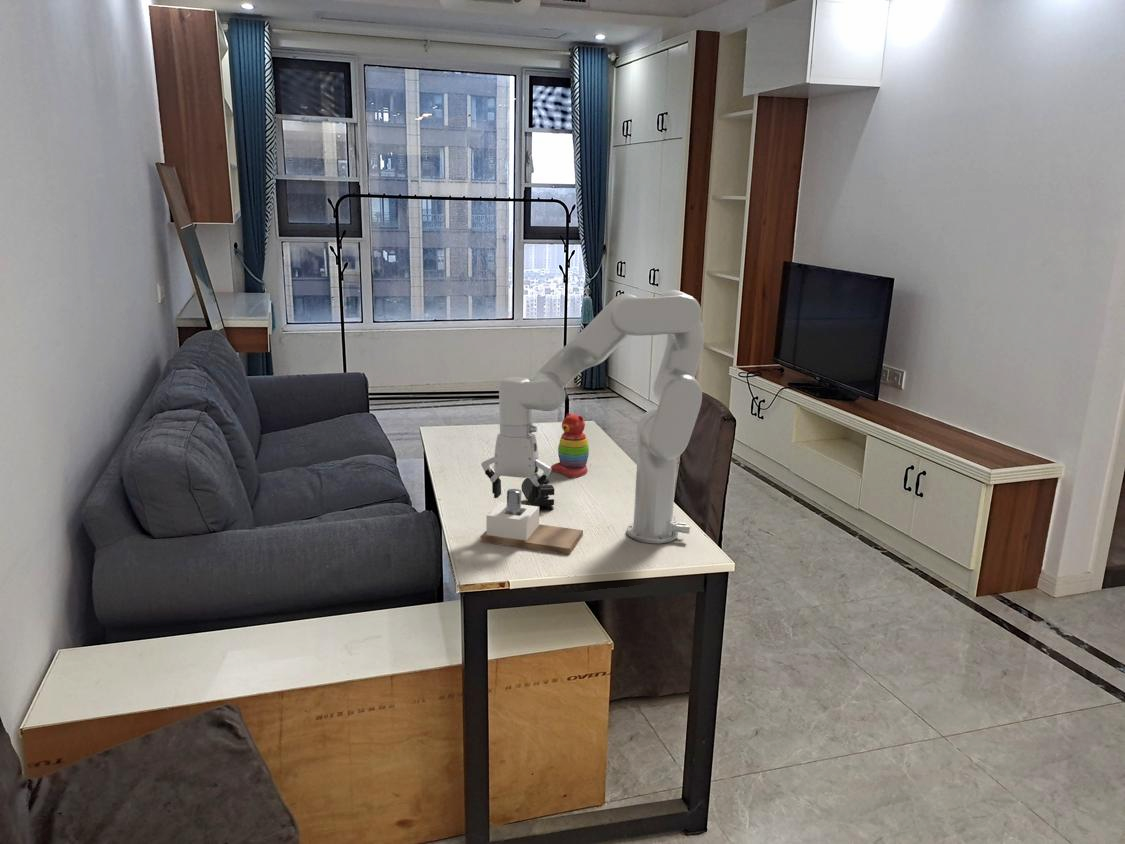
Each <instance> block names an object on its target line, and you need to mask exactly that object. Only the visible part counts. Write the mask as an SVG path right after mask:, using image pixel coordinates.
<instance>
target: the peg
mask: <svg viewBox="0 0 1125 844" xmlns="http://www.w3.org/2000/svg"><path fill="white" fill-rule="evenodd" d="M506 503H507V514H509V515H517V516H521V504H522V489H518V488H509V489H507V490H506Z"/></svg>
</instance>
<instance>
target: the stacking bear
mask: <svg viewBox="0 0 1125 844" xmlns="http://www.w3.org/2000/svg"><path fill="white" fill-rule="evenodd" d="M565 416H566V417H565V418H564V419H562V422H561V429H562V431H563V433H562V434H561V437H560V439H559V444H558V447H557V454H558V461H559V462H556V463H554V464H552V465H551V466H550V467H551V468H552V470H551V472H554V473H560V474H563V475H564V477H566V478H571V479H572V478H575V479H576V478H579V476H580V477H582V476H585V475H586V474H587V473H588V467H587V463H588V459H589V454H590V452H589V451H590V447H589V442H588V438H587V436H586V434H585V433H584V430H585V428H586V427H585V426H586V424H585V423H586V422H585V420H584V416H582V415H578V414H571V413H567V414H566V415H565Z"/></svg>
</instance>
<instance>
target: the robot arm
mask: <svg viewBox="0 0 1125 844" xmlns="http://www.w3.org/2000/svg"><path fill="white" fill-rule="evenodd" d="M701 318H702V307H701V305H700V303H699V301H698V300H697V299H696V298H694V297H693V296H692V295H689V294H688V293H685V292H683V291H680V290H676V289H669V290H666V291H664V292H662V293H661V294H660V295H659V296H654V297H653V296H651V297H648V296H647V297H644V296H643V297H642V296H641V297H640V296H639V297H637V296H636V295H634V294H630V293H621V294H618V295H617V296H615V297H614V298H613V299H612V300H611V301H610V302H609V303H608V304H607V305H605V307H604V308H603V309H602V310H600V312H599V313H598V314H596V316H594V318H593V319H591V321H590V322H589V324H587V325H586V326H585V328H583V329H582V330H581V331H580V332H579V333H578V334H577V335H576V337H574V338H573V339H571V340H570V341H569V342H568V343H567V344H566V345H564V346H563V347H562V348H560V350H558V351H557V352H556V353H555V354H554V355H553V356H552V357H551V358H550V359H548V361H547V362H546V363H544V365H543V366H542V367H541V368H540V369H539V370H538V371H537V372H536V374H534V376H533V378H532V379H531V380H530V379H529V378H527V377H523V376H508V377H504V378H502V379H501V380H500V381H499V385H498V395H499V396H498V398H499V399H498V400H499V401H498V402H499V403H498V404H499V405H498V407H499V412H498V413H499V433H498V434H497V435H496V440H495V448H494V456H493V457H490V458H488V459H486V460H484V461H482V462H481V463H480V464H481V467H482V469H483V471H484V474H485V476H487V478H489V481H490V482H491V484H492V485H491V486H492V489H491V491H492V494H493V498H494V499H498V498H499V497H500V496H501V495H502V480H501V478H500V477H511V478H521V479H526V478H529V479H530V480H531V481H532V483H533V484H534V485H533V486H532V501H533V502H536V501H537V500H538V499H539V498H540V496H541V483H542V482H543V481H544V480H546V479H548V477H549V476H550V473H551V472H552V471H551V470H552V468H551V466H549V465H548V464H547V463H545V462H542V461H541V460H539V459H540V458H539V449H538V443H537V442H538V441H537V437H536V434H534V433H537V432H538V426H535V425H533V421H532V411H543V412H552V411H557V410H558V409H560V408H561V407H563V405H564V404H565V401H566V390H565V388H566V387H567V385H569V383H570V382H571V381H573V380H574V379H575V378H576V377H577V376H578V375H580V373H582V372H584V371H585V370H587V369H589V368H592V367H595V366H598V365H600V364H602V363H603V362H604V361H605V360H607V359H608V358H609V356H610V355H611V354H612V353H614V351H615V350H616V349H617V348H618V347H620V345H621V344H622V343H624V341H625V340H626V339H627V338H628V337H629V336H634V337H635V336H637V337H638V336H640V337H641V336H657V335H658V336H659V335H667V336H666V337H667V341H666V344H665V345H666V346H665V349H664V354H663V357H662V360H661V363H660V366H659V369H658V372H657V375H656V378H655V381H654V384H653V394H654V396H655V398H656V400H657V401H658V406H657V408H652V409H650V410H647V411H646V412H644V413H643V414H642V416H641V417H640V418H639V420H638V423H637V426H636V427H637V428H636V448H637V449H636V455H637V456H636V475H635V477H636V478H635V493H634V509H633V510H634V511H633V513H634V514H633V522H632V523H630V524H629V525H627V526H626V535H628V536H629V537H630V538H632V539H634V540H636V541H639V542H642V543H647V544H666V543H671V542H672V541H674V540H676V539H677V538H678V535H679V533H681V534H687V535H690V533H691V525H687V522H678V521H677V520H676V515H674V503H675V501H674V500H675V487H676V486H675V485H676V476H677V458H678V457H680V456H681V455H682V454H683V452H685V450H686V448H687V446H688V444H689V442H690V440H691V437H692V433H693V431H694V428H695V426H696V422H697V419H698V415H699V413H700V410H701V407H702V401H703V392H702V391H703V390H702V386H701V384H700V383H699V381H698V380H697V379H696V377H697V376H696V375H697V371H698V369H699V366H700V360H701V357H702V354H703V349H704V345H705V344H704V343H705V334H704V327H703V323H702V320H701ZM492 464H493V468H494V470H492V469H491V466H490V465H492ZM539 470H542V471H543V473H542V475H541V476H540V475H539V473H538V472H539Z"/></svg>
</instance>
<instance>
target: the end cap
mask: <svg viewBox="0 0 1125 844" xmlns="http://www.w3.org/2000/svg"><path fill="white" fill-rule="evenodd" d="M521 483H522V484H521V489H520V490H521V493H522V494H523V495H524V497H525V499H526V500H527V503H528V504H529V505H530V506H537V507H539V512H543V511H544V512H546V511H548V512H549V511H554V505H555V499H553V498H550V496H555V488H554V486H553V484H551V482H550V480H549V479H548V478H546V480H544V481H543V482H542V483H541V496H540V498H539V499H538V500H537V501H536V502H533V501H532V486H533V485H534V484H533V483H532V481H531V480H530V479H529V478H524V480H523V481H522V482H521Z"/></svg>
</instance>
